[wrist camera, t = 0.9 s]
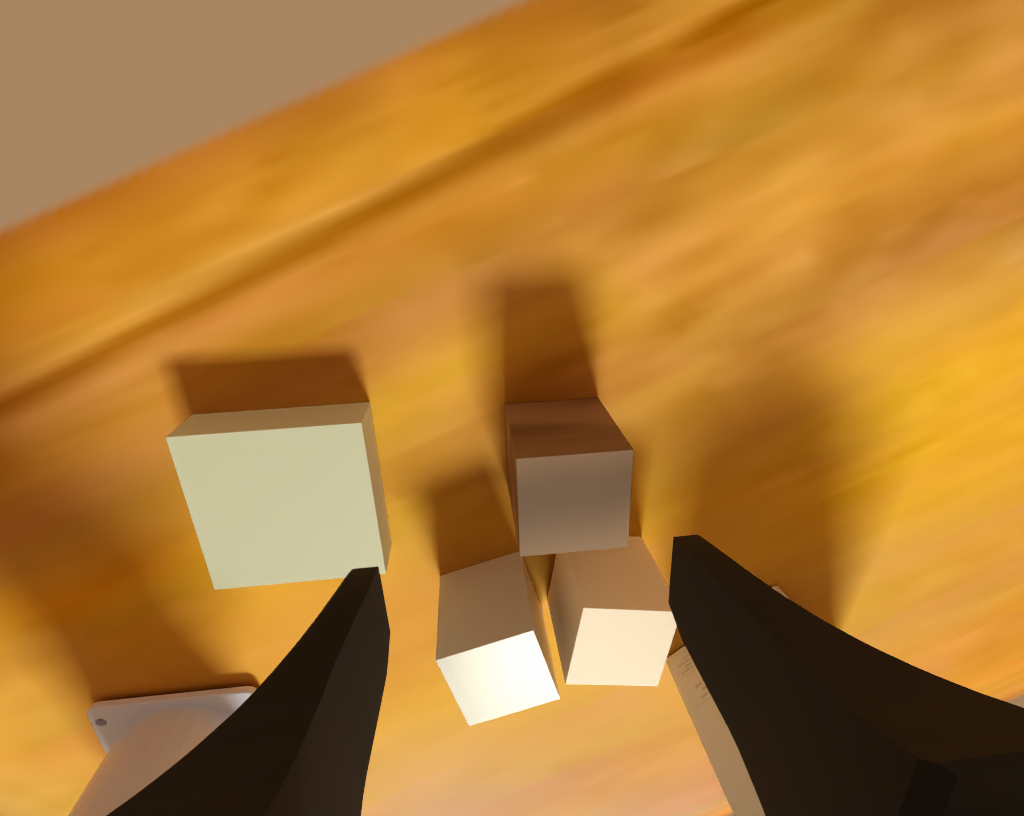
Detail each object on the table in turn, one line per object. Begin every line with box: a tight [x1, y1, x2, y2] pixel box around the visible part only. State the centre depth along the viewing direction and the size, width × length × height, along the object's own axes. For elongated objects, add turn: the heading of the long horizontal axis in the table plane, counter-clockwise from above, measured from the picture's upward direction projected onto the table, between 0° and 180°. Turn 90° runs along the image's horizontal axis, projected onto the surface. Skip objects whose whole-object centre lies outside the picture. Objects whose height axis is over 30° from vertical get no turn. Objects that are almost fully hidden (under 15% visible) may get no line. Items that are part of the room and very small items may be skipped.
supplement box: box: [667, 586, 790, 816], centre depth 24 cm, size 7×7×13 cm
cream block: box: [547, 536, 677, 686], centre depth 24 cm, size 4×4×5 cm
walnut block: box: [504, 398, 633, 557], centre depth 21 cm, size 4×4×5 cm
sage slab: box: [166, 402, 391, 590], centre depth 22 cm, size 7×7×2 cm
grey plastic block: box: [436, 551, 560, 726], centre depth 24 cm, size 4×4×5 cm
